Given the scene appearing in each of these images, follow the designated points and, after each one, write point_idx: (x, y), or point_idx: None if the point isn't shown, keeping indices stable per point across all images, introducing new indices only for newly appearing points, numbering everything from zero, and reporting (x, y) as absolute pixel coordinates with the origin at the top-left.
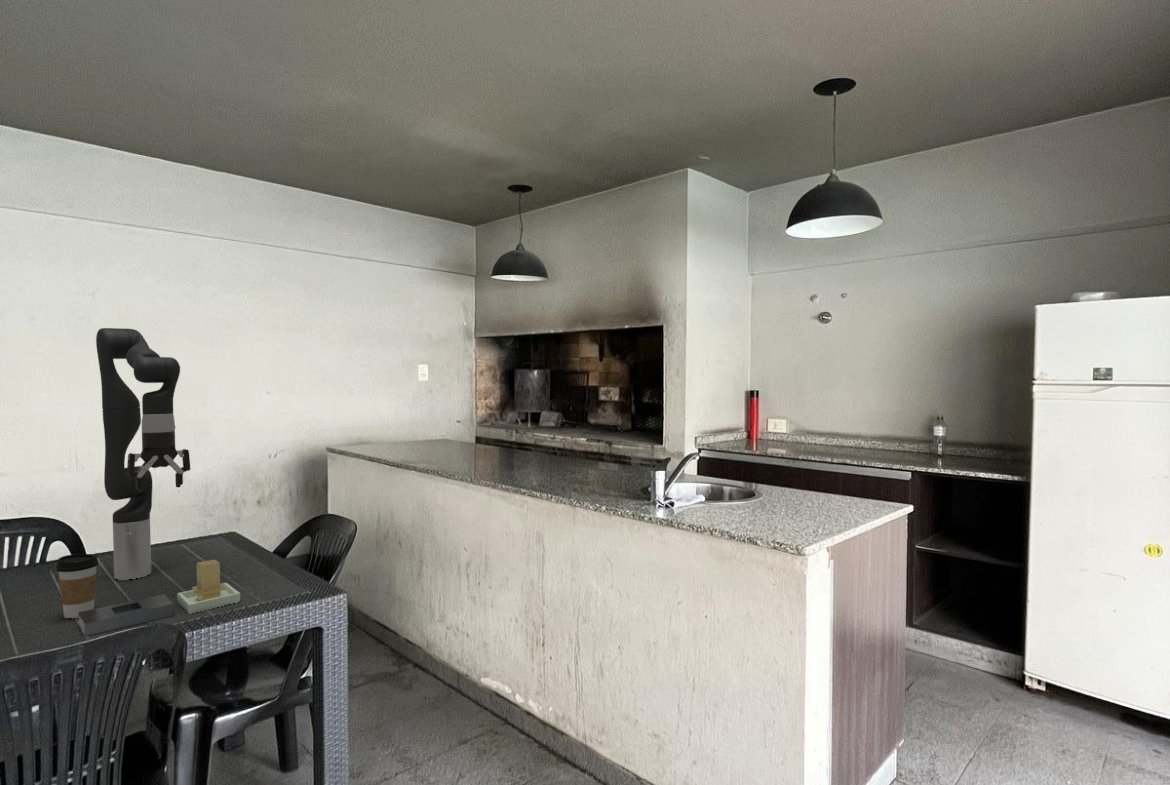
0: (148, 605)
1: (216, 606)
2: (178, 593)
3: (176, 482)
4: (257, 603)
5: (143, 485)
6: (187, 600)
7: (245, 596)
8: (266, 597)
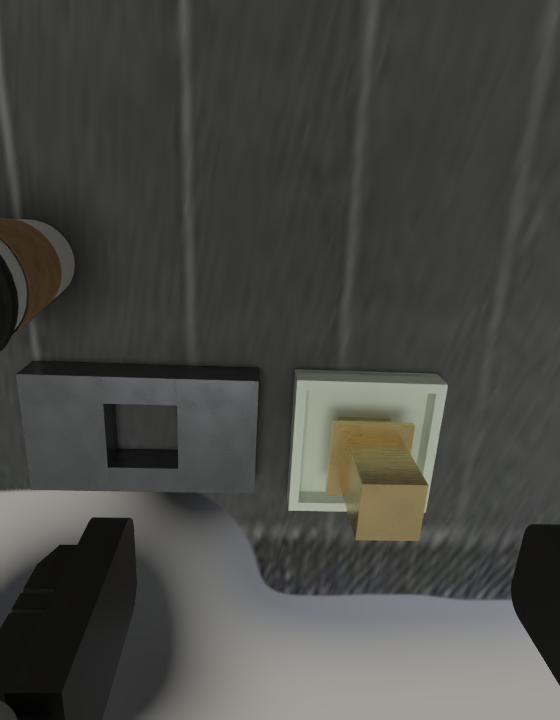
0: (196, 457)
1: None
2: (299, 386)
3: (555, 604)
4: (442, 532)
5: (114, 670)
6: (297, 472)
7: (450, 458)
8: (481, 505)
